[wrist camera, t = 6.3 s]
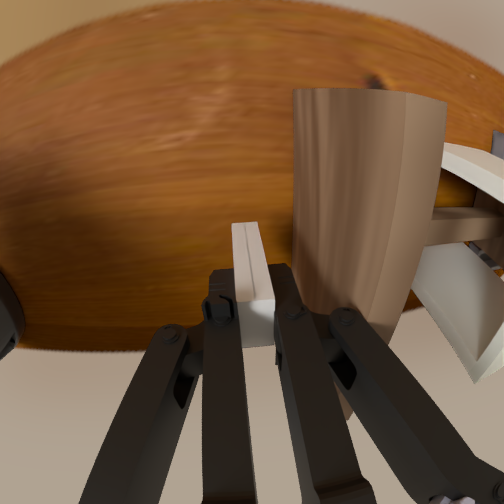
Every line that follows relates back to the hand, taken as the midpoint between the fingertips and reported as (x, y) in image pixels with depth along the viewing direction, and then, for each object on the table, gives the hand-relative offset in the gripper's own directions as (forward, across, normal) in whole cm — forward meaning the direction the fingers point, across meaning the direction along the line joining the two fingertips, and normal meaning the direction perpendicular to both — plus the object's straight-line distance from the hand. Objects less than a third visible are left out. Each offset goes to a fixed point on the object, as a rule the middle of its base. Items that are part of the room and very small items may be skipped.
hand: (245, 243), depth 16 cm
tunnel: (+4, +18, 0) cm, 19 cm away
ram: (+4, +14, 0) cm, 15 cm away
